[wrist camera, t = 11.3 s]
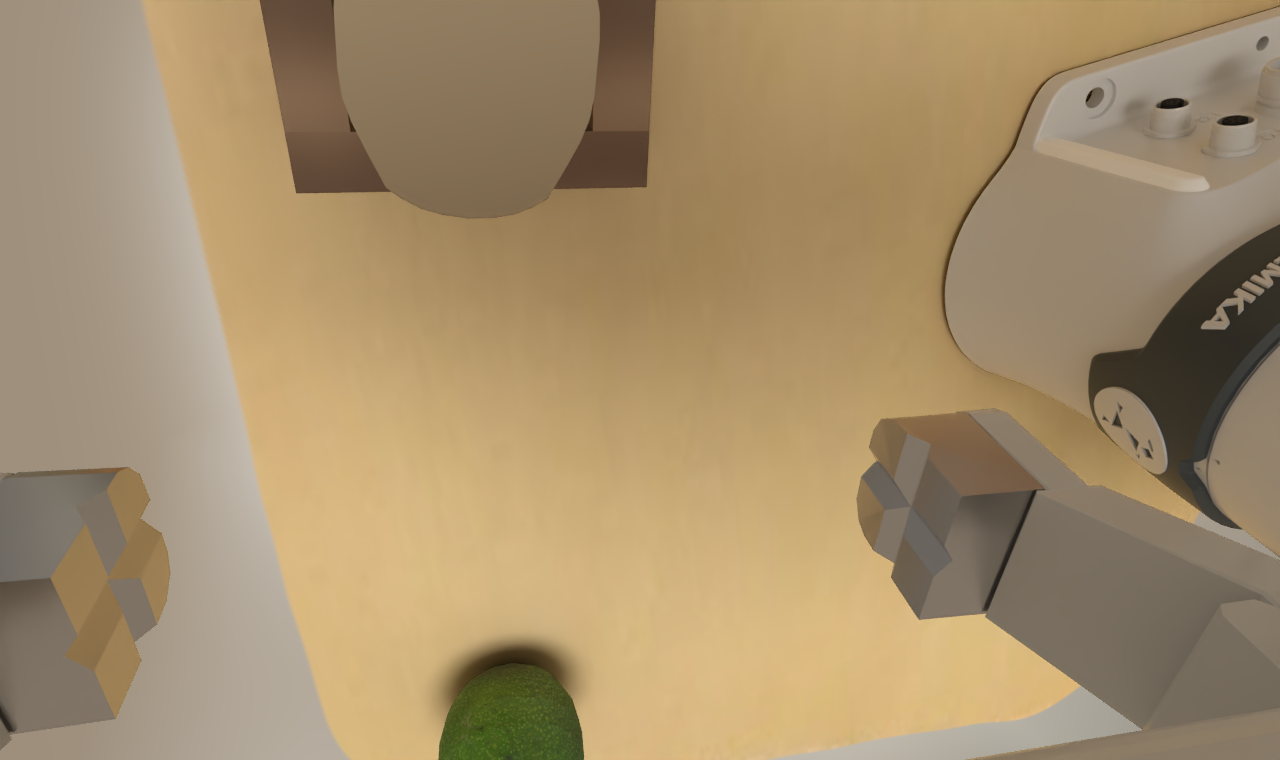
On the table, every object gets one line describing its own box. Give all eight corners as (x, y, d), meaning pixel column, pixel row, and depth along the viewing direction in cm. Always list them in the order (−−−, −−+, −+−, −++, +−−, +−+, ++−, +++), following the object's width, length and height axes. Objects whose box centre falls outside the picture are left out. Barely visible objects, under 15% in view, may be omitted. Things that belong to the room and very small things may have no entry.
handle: (394, 80, 28) (345, 211, 15) (388, -128, 25) (322, -176, 12) (526, 93, 29) (582, 225, 17) (537, -104, 26) (615, -127, 13)
